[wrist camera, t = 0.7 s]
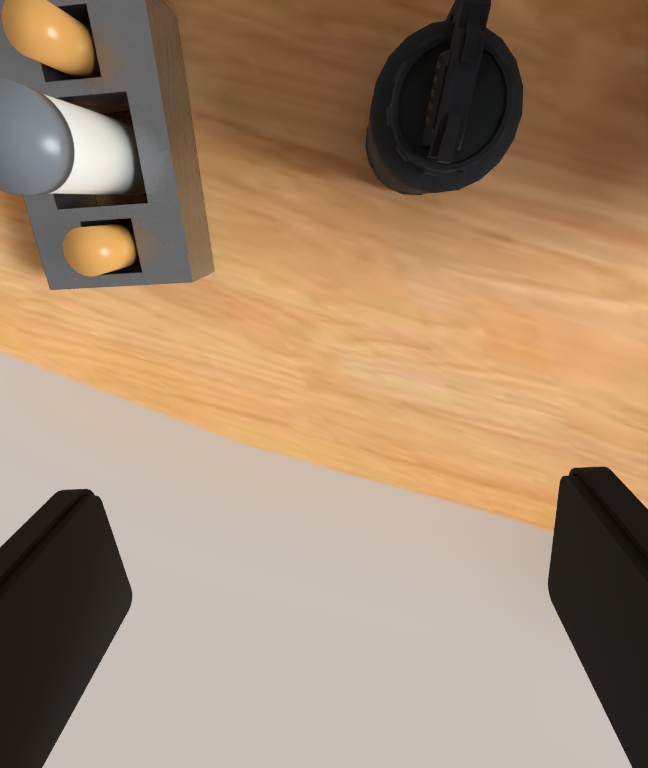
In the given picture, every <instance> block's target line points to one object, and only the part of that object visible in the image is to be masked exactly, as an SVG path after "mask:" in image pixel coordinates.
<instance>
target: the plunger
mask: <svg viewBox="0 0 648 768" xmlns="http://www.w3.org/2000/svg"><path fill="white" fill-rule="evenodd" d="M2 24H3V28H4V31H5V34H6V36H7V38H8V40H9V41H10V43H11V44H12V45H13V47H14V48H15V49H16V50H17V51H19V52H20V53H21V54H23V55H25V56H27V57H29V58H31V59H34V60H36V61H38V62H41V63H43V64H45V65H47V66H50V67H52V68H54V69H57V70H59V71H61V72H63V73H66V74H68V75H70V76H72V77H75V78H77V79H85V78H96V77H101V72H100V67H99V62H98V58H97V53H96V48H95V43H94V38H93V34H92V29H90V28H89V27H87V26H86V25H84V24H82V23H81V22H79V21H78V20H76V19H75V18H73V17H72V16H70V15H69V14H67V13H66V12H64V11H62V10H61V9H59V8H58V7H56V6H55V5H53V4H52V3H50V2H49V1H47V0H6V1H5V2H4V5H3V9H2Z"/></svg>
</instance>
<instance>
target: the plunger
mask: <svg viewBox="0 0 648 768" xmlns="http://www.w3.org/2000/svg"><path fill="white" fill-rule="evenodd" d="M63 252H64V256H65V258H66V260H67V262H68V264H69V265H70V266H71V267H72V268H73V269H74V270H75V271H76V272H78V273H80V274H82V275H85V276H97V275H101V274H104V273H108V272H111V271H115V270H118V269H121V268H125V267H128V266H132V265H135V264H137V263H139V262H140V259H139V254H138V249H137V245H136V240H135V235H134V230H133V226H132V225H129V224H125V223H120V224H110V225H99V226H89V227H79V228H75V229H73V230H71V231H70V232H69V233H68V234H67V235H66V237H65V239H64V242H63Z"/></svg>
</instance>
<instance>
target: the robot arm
mask: <svg viewBox="0 0 648 768" xmlns="http://www.w3.org/2000/svg"><path fill="white" fill-rule="evenodd" d="M548 589H549V594H550V598H551V601H552V603H553V605H554V607H555V609H556V611H557V614H558V616H559V618H560V620H561V622H562V624H563V626H564V628H565V630H566V632H567V634H568V636H569V638H570V640H571V642H572V644H573V646H574V648H575V651H576V653H577V655H578V657H579V659H580V661H581V663H582V665H583V667H584V669H585V671H586V673H587V675H588V677H589V679H590V681H591V683H592V686H593V688H594V690H595V692H596V694H597V696H598V698H599V700H600V702H601V704H602V706H603V708H604V710H605V712H606V714H607V716H608V718H609V720H610V722H611V725H612V727H613V729H614V731H615V733H616V735H617V737H618V739H619V741H620V743H621V745H622V747H623V749H624V751H625V753H626V755H627V757H628V759H629V761H630V763H631V765H632V768H648V509H647V508H646V507H645V506H644V505H643V504H642V503H641V502H640V501H639V500H638V499H637V497H636V496H635V495H634V494H633V493H632V492H631V491H630V490H629V489H628V488H627V487H626V486H625V485H624V484H623V483H622V481H621V480H620V479H619V478H618V477H617V476H616V475H615V474H614V473H613V472H612V471H611V470H610V469H609V468H607V467H584V468H573V469H571V471H570V473H569V476H563V477H562V478H561V480H560V486H559V494H558V503H557V511H556V519H555V528H554V536H553V544H552V553H551V561H550V569H549V578H548ZM131 602H132V590H131V587H130V584H129V581H128V578H127V575H126V572H125V569H124V566H123V563H122V560H121V557H120V554H119V551H118V548H117V545H116V542H115V539H114V536H113V533H112V530H111V527H110V524H109V521H108V518H107V515H106V512H105V509H104V506H103V503H102V501H101V499H100V498H99V497H98V496H95V495H94V493H93V492H92V491H91V490H88V489H74V490H61V491H58V492H57V493H55V494H54V495H53V496H52V497H51V498H50V499H49V500H48V501H47V502H46V503H45V504H44V505H43V506H42V507H41V508H40V509H39V510H38V511H37V512H36V513H35V514H34V515H33V516H32V517H31V518H30V519H29V520H28V521H27V522H26V523H25V524H24V525H23V526H22V527H21V528H20V529H18V530H17V531H16V533H14V534H13V535H12V536H11V537H10V538H9V539H8V540H7V541H6V542H5V543H4V544H3V545H2V546H1V547H0V768H42V767H43V765H44V763H45V762H46V760H47V758H48V756H49V754H50V752H51V751H52V749H53V747H54V745H55V743H56V742H57V740H58V738H59V736H60V734H61V732H62V731H63V729H64V727H65V725H66V723H67V721H68V720H69V718H70V716H71V714H72V712H73V711H74V709H75V707H76V705H77V703H78V701H79V700H80V698H81V696H82V694H83V692H84V691H85V689H86V687H87V685H88V683H89V682H90V680H91V678H92V676H93V674H94V672H95V671H96V669H97V667H98V665H99V663H100V662H101V660H102V658H103V656H104V654H105V652H106V651H107V649H108V647H109V645H110V643H111V642H112V640H113V638H114V636H115V634H116V632H117V631H118V629H119V627H120V625H121V623H122V621H123V619H124V618H125V616H126V614H127V612H128V611H129V608H130V606H131Z"/></svg>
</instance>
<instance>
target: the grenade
mask: <svg viewBox="0 0 648 768" xmlns="http://www.w3.org/2000/svg"><path fill="white" fill-rule="evenodd" d="M490 6H491V0H456V1H455V3H454V5H453V7H452V9H451V11H450V13H449V15H448V17H447V19H446V21H442V22H436V23H431V24H429V25H428V26H426V27H424V28H422V29H420V30H419V31H417V32H415V33H413V34H412V35H410V36H408V37H407V38H406V39H405V40H404V41H403V42H402V43H401V44H400V46H399V47H398V48H397V49H396V50H395V51H394V52H393V53H392V54H391V55H390V56H389V58H388V60H387V62H386V64H385V66H384V68H383V69H382V71H381V73H380V75H379V77H378V79H377V81H376V85H375V90H374V95H373V100H372V105H371V110H370V117H369V124H368V128H367V135H366V151H367V156H368V160H369V164H370V166H371V168H372V169H373V171H374V173H375V175H376V176H377V178H378V179H379V180H380V181H381V182H382V183H383V184H385V185H386V186H387V187H388V188H389V189H391V190H394V191H396V192H399V193H401V194H409V195H422V194H425V193H437V192H445V191H453V190H459V189H461V188H463V187H465V186H468V185H470V184H472V183H474V182H476V181H478V180H480V179H481V178H482V177H484V176H485V175H486V174H487V173H488V172H489V171H490V170H491V169H493V168H494V167H495V166H496V165H497V164H498V163H499V162H500V160H501V159H502V157H503V156H504V154H505V153H506V151H507V150H508V148H509V146H510V145H511V143H512V142H513V140H514V137H515V134H516V131H517V128H518V125H519V122H520V118H521V115H522V100H523V84H522V81H521V77H520V73H519V69H518V65H517V62H516V59H515V58H514V56H513V55H512V53H511V52H510V50H509V49H508V47H507V46H506V44H505V43H504V41H503V40H502V39H501V38H500V37H498V36H497V35H496V34H494V33H493V32H491V31H490V30H488V29H487V28H486V23H487V19H488V15H489V11H490Z"/></svg>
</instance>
